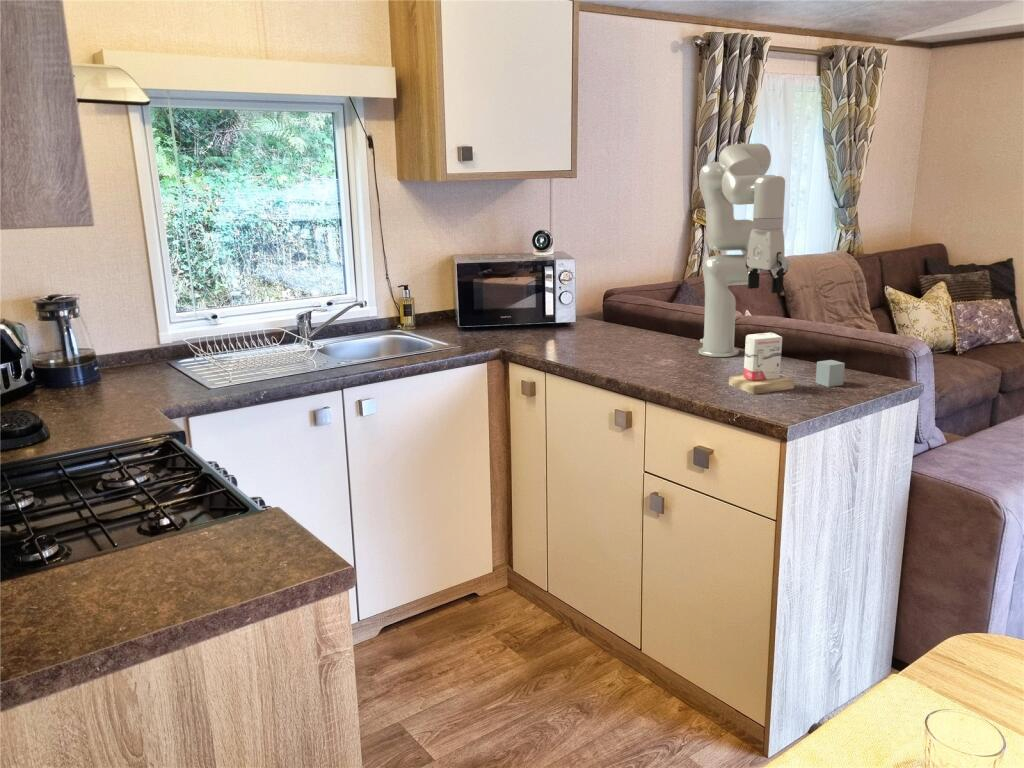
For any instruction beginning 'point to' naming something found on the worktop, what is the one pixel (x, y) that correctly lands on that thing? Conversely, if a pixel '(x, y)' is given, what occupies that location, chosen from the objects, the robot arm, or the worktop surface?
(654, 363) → the worktop surface
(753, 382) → the oak slab
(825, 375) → the light gray block
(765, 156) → the robot arm
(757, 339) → the ink box
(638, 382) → the worktop surface
